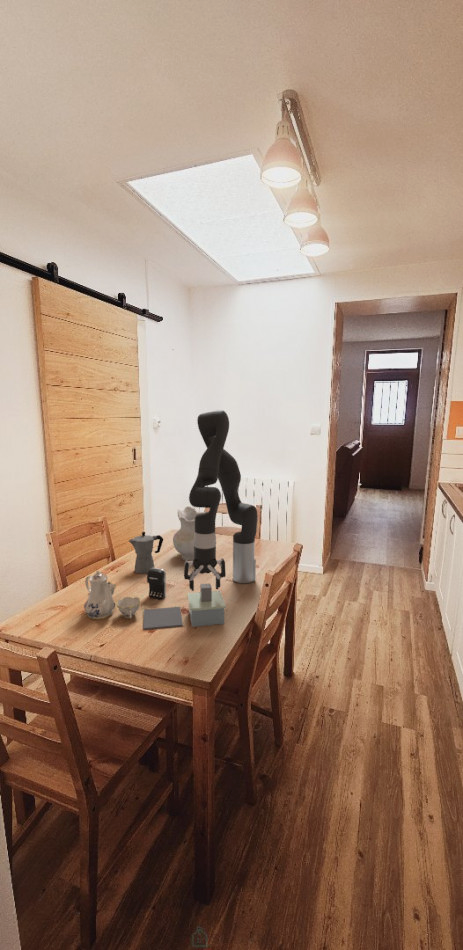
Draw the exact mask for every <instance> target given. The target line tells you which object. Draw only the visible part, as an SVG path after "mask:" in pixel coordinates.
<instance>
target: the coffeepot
mask: <svg viewBox="0 0 463 950" xmlns="http://www.w3.org/2000/svg"><path fill="white" fill-rule="evenodd" d="M157 540H158V545H157V550H153V548H154V541H157ZM128 542H129V543H130V544H131V546H132V547H133V548H134V552H135V554H136V558H135V565H134V571H133V572H135V573H136V574H139V575H145V574H146V575H147V572H148V571H149V570H150V569H151V568H156V567H155V563H154V557H153V555H152V553H153V551H154V553H155V554H158V553H160V552H161V548H162V545H163V542H164V538H163V537H162V536H161V535H159V534H158V535H150V534H149V535H147V534H146V531H142V532H141V535H138V536H135V537H134V538H131V539H129V540H128Z"/></svg>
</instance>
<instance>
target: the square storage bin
mask: <svg viewBox="0 0 463 950" xmlns="http://www.w3.org/2000/svg"><path fill="white" fill-rule="evenodd" d="M188 612H189V618H190V624H191V628H194V627H206V626H205V625H208V626H214V625H213V624H219V625H225V608H221V609H209V610H197V611H190V607H188Z"/></svg>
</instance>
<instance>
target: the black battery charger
mask: <svg viewBox="0 0 463 950" xmlns="http://www.w3.org/2000/svg"><path fill="white" fill-rule="evenodd" d="M166 576H167V574H166V570H165V569H164V568H160V567H155V568H151V569H150V570H149V571H148V572H147V574H146V583H147V584H148V587H149V588H148V597H149V598H152V599H158V600H162V599H165V598H166V597H167V588H166V587H167V577H166Z"/></svg>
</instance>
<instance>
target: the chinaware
mask: <svg viewBox="0 0 463 950" xmlns="http://www.w3.org/2000/svg"><path fill="white" fill-rule="evenodd" d="M108 578H109V576H108V575H107V574H103V573H101V571H100V570H97V571H96V572H95V573H94V574H93V575H88V576H86V577H85V580H84V581H85V587H86V590H87V591H88V597H87V599H86V602H85V603H84V605H83V609H84V611H85V614H86V615H87V617H88V618H89V619H92V620H102V619H105V618H108V617H109V616H111V615H112V614H113V610H114V609H115V608H116V607H117V608H118V611H119V612H120V614H122V615H123V617H124V618H126V619H132V618H133V617H134V616H135V614H136V613H137V611H138V610H139V608H140V605H141V604H142V601H141V599H140V598H139V597H138V596H137V597H132V596H126V597H125V596H124V597H123V598H122V599H118V600H116V601H115V602H116V603H115V602H114V598H113V595H114V593H115V589H116V587H117V584H115V583H114V584H113V583H112V582H109V581H108ZM89 583H90V585H89Z"/></svg>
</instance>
